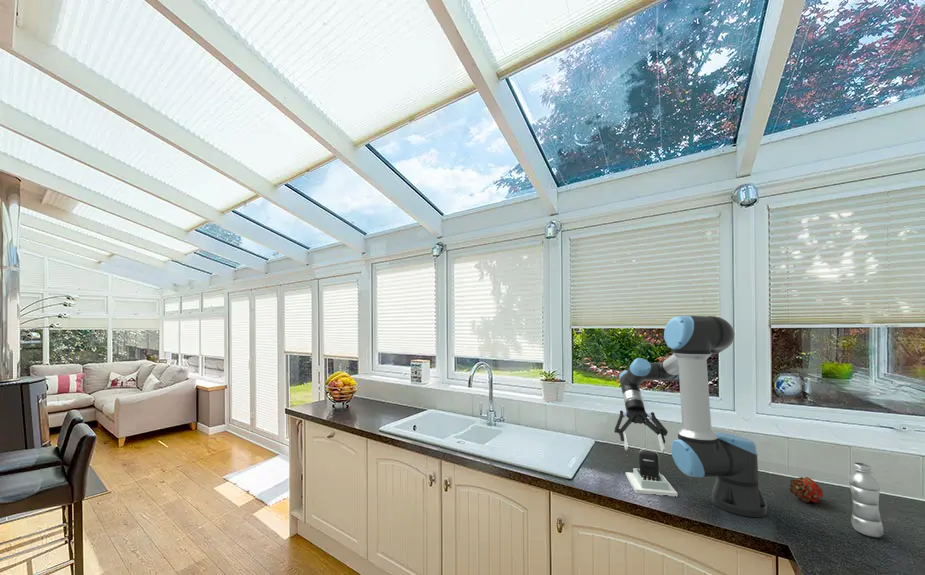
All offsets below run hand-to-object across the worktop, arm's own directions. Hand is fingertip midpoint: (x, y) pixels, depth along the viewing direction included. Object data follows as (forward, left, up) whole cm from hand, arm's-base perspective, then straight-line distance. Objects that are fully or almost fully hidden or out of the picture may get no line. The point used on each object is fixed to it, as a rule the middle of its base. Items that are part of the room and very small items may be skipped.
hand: (644, 449), depth 148 cm
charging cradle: (0, +4, -12) cm, 12 cm away
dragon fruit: (-51, +5, -12) cm, 53 cm away
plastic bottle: (-54, +26, -12) cm, 61 cm away
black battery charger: (0, +4, -11) cm, 12 cm away
